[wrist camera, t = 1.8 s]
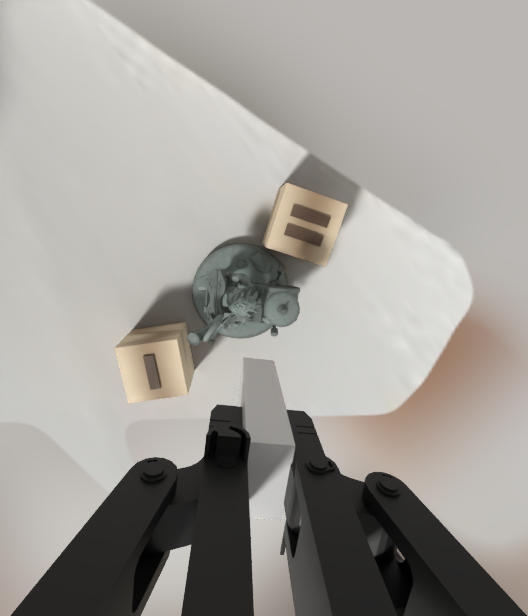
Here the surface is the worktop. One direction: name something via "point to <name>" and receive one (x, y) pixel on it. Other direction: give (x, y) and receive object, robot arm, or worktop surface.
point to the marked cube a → (156, 362)
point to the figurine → (242, 294)
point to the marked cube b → (304, 224)
